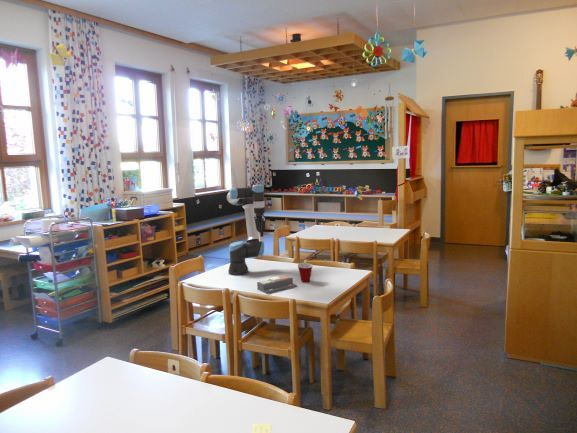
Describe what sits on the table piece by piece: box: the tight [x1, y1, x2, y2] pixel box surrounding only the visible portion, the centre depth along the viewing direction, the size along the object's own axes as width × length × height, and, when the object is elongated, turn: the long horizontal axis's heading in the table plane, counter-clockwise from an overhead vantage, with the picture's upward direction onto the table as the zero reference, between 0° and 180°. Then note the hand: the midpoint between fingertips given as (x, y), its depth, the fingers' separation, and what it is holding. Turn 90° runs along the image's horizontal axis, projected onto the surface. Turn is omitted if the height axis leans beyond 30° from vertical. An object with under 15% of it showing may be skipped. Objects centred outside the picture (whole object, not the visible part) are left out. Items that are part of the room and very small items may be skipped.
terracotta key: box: [278, 275, 291, 280], centre depth 298 cm, size 6×6×3 cm
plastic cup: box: [297, 262, 314, 283], centre depth 304 cm, size 11×11×12 cm
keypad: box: [256, 276, 298, 295], centre depth 292 cm, size 13×23×5 cm, turn 123°
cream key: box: [268, 276, 281, 282], centre depth 294 cm, size 6×6×3 cm
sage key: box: [258, 279, 272, 284], centre depth 290 cm, size 6×6×3 cm
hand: (261, 241), depth 304 cm, fingers closed
